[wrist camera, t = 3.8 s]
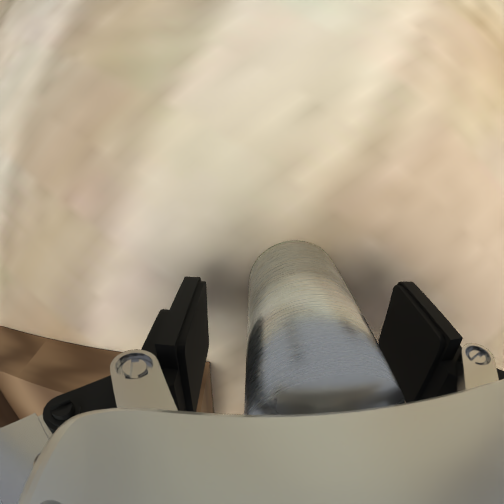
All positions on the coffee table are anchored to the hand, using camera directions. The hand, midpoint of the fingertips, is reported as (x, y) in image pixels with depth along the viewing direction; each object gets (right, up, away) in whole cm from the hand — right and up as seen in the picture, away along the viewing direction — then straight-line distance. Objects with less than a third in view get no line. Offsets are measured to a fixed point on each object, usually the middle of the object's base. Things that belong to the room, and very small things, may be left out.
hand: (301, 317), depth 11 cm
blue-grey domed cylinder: (0, +1, +3) cm, 3 cm away
